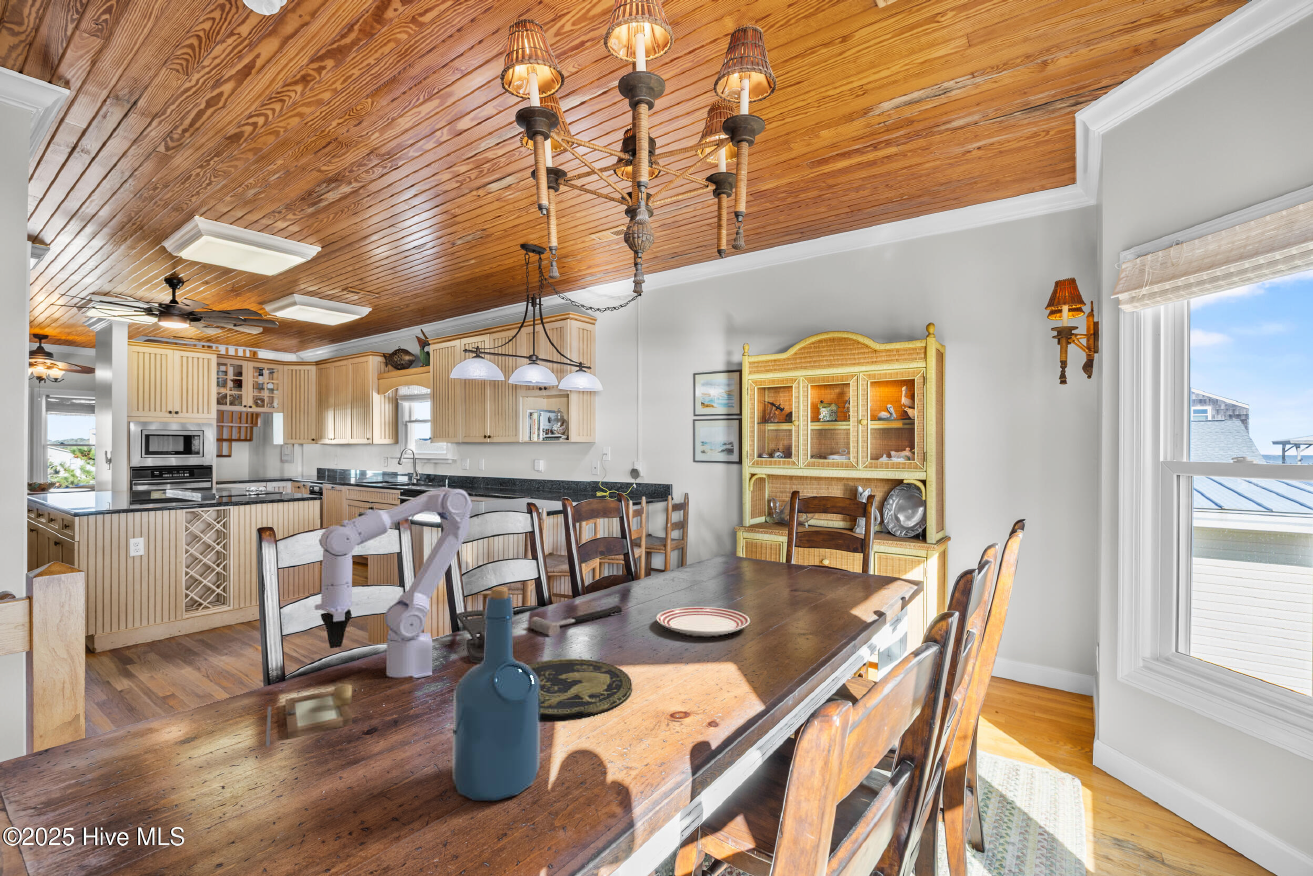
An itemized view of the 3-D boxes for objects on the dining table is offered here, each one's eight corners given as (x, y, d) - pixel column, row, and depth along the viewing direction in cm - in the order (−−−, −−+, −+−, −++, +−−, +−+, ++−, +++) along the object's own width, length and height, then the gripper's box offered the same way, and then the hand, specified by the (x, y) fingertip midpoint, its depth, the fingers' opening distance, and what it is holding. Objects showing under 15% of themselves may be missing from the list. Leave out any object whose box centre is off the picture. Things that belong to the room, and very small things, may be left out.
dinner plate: (645, 618, 181) (645, 607, 181) (726, 612, 189) (726, 602, 190) (673, 647, 155) (673, 634, 155) (766, 638, 163) (766, 626, 163)
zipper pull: (485, 608, 166) (511, 632, 145) (485, 632, 166) (511, 659, 145) (453, 612, 162) (474, 638, 140) (452, 636, 162) (474, 666, 140)
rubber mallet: (628, 607, 183) (548, 625, 162) (628, 618, 183) (548, 638, 162) (608, 601, 190) (529, 618, 169) (608, 612, 190) (529, 631, 169)
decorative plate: (464, 705, 115) (527, 652, 144) (464, 714, 115) (527, 660, 144) (611, 721, 109) (645, 663, 139) (611, 732, 109) (645, 672, 139)
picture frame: (346, 693, 121) (346, 672, 121) (356, 723, 108) (357, 700, 108) (285, 705, 115) (285, 684, 115) (287, 739, 102) (288, 714, 102)
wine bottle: (437, 779, 92) (440, 587, 93) (511, 749, 101) (514, 575, 102) (479, 818, 82) (482, 604, 83) (557, 782, 92) (560, 589, 92)
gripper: (313, 578, 129) (312, 640, 129) (317, 592, 117) (315, 660, 116) (349, 574, 133) (348, 635, 132) (356, 588, 120) (355, 654, 120)
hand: (335, 646), depth 125 cm, fingers closed
